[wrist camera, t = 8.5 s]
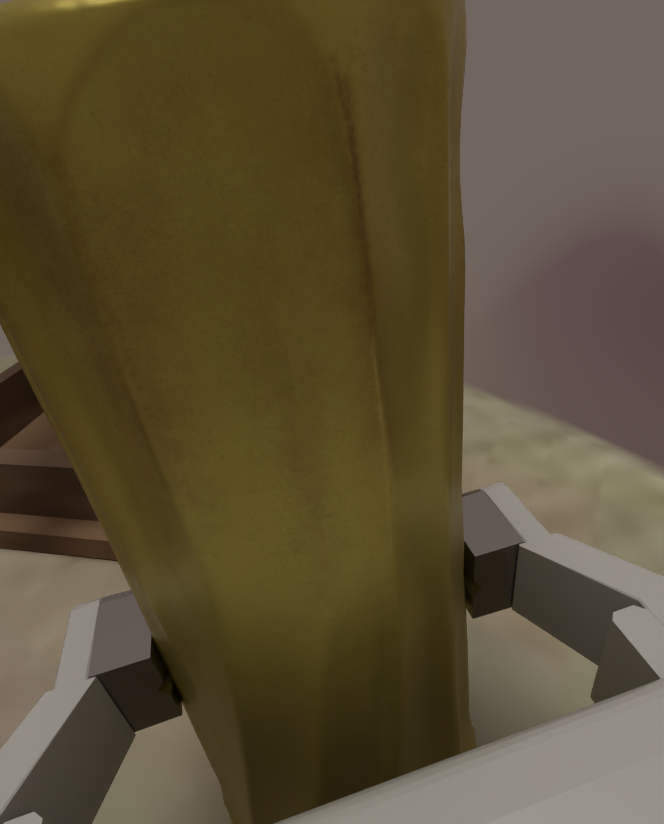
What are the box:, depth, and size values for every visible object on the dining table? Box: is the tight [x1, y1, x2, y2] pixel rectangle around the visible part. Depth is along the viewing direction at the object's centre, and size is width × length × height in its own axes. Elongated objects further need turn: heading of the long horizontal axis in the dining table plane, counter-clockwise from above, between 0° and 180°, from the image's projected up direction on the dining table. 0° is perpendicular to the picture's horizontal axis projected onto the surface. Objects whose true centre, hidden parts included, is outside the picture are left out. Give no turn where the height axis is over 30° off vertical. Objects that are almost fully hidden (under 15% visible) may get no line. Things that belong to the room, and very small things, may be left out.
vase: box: [0, 0, 476, 824], centre depth 9 cm, size 6×6×14 cm
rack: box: [0, 362, 118, 561], centre depth 26 cm, size 22×12×4 cm, turn 77°
